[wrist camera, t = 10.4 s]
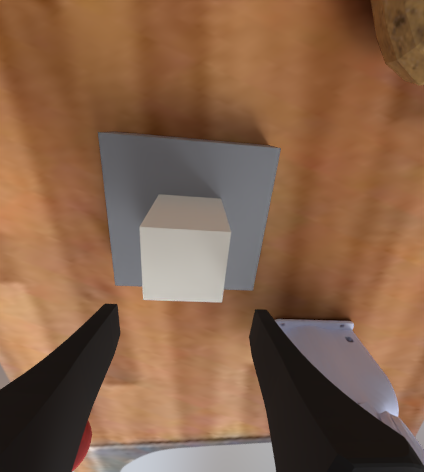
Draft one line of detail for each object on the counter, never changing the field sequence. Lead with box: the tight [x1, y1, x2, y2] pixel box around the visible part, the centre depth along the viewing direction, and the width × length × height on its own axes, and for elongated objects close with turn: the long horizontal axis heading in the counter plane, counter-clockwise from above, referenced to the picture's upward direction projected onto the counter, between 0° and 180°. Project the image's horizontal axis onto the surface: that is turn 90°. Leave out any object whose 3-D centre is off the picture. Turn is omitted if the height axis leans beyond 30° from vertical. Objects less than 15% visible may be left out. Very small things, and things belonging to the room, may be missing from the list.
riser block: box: [98, 132, 281, 290], centre depth 19 cm, size 12×12×3 cm
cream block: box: [139, 194, 231, 302], centre depth 15 cm, size 4×4×6 cm
